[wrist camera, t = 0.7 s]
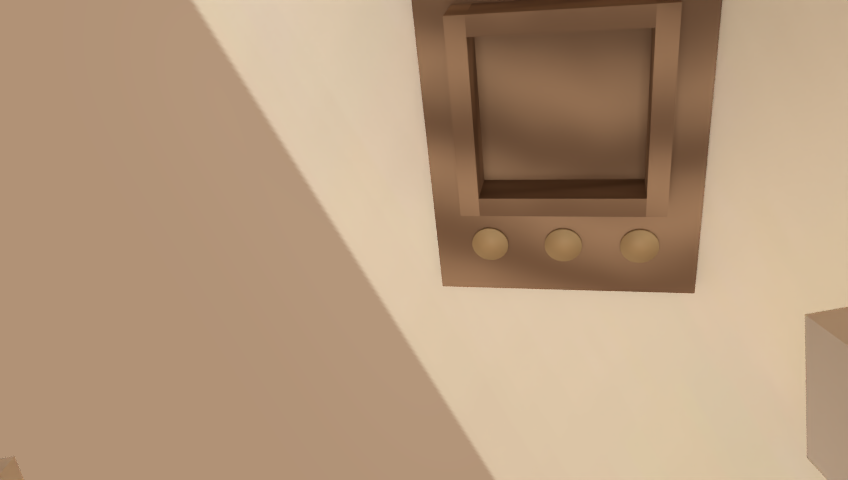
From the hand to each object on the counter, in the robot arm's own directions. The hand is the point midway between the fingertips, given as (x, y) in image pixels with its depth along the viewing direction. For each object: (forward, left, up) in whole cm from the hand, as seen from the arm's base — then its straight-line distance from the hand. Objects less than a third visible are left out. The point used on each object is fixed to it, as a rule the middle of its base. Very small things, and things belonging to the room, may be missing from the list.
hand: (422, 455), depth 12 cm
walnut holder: (+6, +1, -27) cm, 28 cm away
